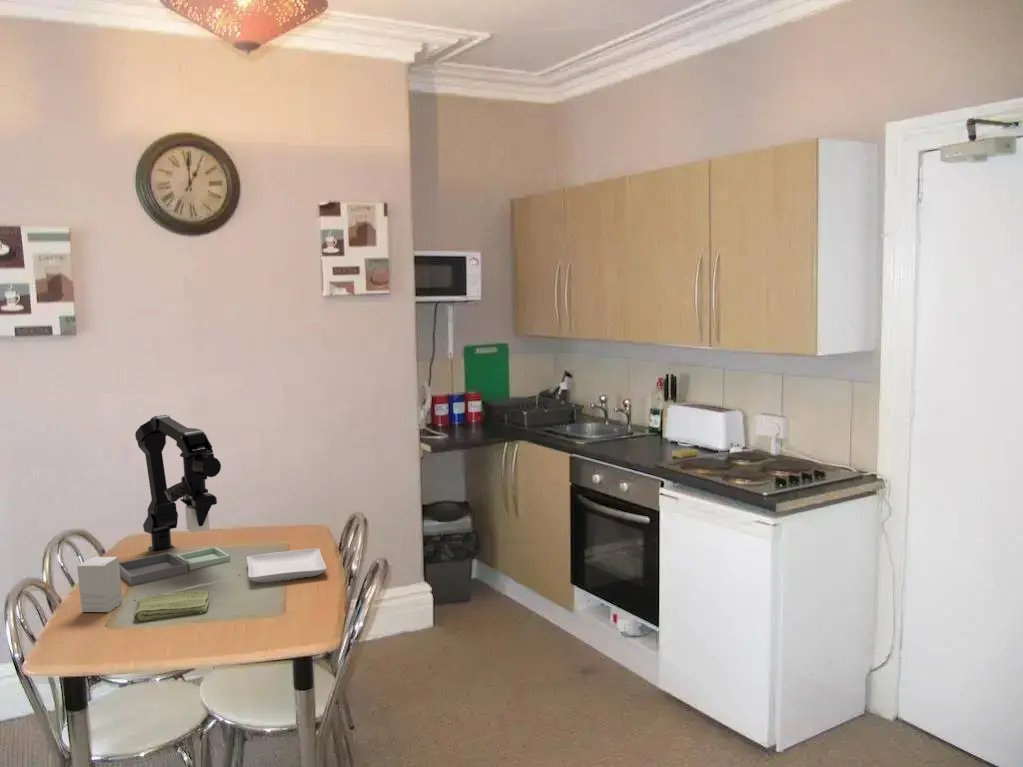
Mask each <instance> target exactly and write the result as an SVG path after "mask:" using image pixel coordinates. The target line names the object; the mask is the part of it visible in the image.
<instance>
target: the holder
mask: <svg viewBox="0 0 1023 767" xmlns="http://www.w3.org/2000/svg"><path fill="white" fill-rule="evenodd" d="M175 556H176V557H178V558H179V559H181V560H182V561H183V562H185V563H186V564H187V565H188V571H192V570H196V569H200V568H205V567H209V566H215V565H219V564H223V563H229V564H231V563H232V562H231V554H228V553H227V552H225V551H223V550H222V549H220V548H218V547H216V546H213V547H208V548H207V547H206V548H203V549H199V550H194V551H193V550H192V551H189V552H184V553H179V554H175ZM230 562H231V563H230Z"/></svg>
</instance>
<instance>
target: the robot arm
mask: <svg viewBox="0 0 1023 767" xmlns="http://www.w3.org/2000/svg"><path fill="white" fill-rule="evenodd" d="M170 416H171V415H167V414H162V415H161V414H160V415H155V416H153V417H151V418H150V419H149V420H148V421H146V422H145V423H143V424H141V425H140V426H139V427H138V429H137V430H136V431H135V440H136V442H137V446H138V448H139V449H140V450H141V452H143V454H145V455H144V456H145V462H146V468H147V476H148V483H149V488H150V489H149V490H150V496H151V497H150V498H151V501H150V503H149V505H148V507H147V517H146V518H145V521H144V523H143V524H142V528H143V532H144V533H146V534H150V540H151V546H148V550H150V551H151V552H153V553H156V552H159V551H165V550H170V549H174V548H176V546H174V544H172V536H171V534H172V532H171V530H172V529H178V528H177V527H178V520H179V514H178V513H179V512H178V511H177V504H176V502H177V501H178V500H179V499H180V501H181V502H182V503H184V504H185V506H189V505H190V506H191V507H192V508H193V509H195V512H196V516H197V521H198V525H199V526H203V524H204V522H205V519H206V517H207V514H208V515H209V512H210V510H211V508H212V506H214V505H217V503H218V500H217V499H218V498H217V497H216V496H215V495H214V494H212V493H211V492H209V489H208V488H206V480H208V478H214V477H216V476H217V475H219V474H220V472H221V469H222V465H221V462H220V460H219V459H218V458H216V457H215V455H214V450H213V445H212V444H211V442H210V441H209V438H208V436H207V434H206V433H205V432H204V431H203V429H199V428H193V427H186V426H185V425H184V424H181V423H180V422H178V421H176V420H175V419H172V418H171V417H170ZM167 437H169V438H171V439H173V440H174V441H175V442H176V444H175V445H176V447H178V449H179V450H180V451H181V453H180V454H179V457H181V458H182V462H183V463H182V464H183V475H182V477H181V478H180V479H181V482H178V483H175V484H174V485H171V486H170V487H168V486H167V479H166V472H165V467H164V457H163V450H164V449H165V446H166V444H167Z"/></svg>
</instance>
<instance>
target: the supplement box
mask: <svg viewBox="0 0 1023 767" xmlns="http://www.w3.org/2000/svg"><path fill="white" fill-rule="evenodd" d="M119 560H120V559H119V556H93V557H91V558H90V557H89V558H88V559H87V560H84V562H81V563H79V565H77V566H76V567H77V576H78V578H77V579H78V588H79V596H80V606H81V613H82V612H108V613H110V612H112V611H113V610H114V609H116V608H117V607H119V606H121V605H122V604H123V592H122V581H121V579H122V578H121V576H120V568H119V563H120V561H119ZM115 607H116V608H115ZM112 609H113V610H112ZM109 611H110V612H109Z"/></svg>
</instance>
